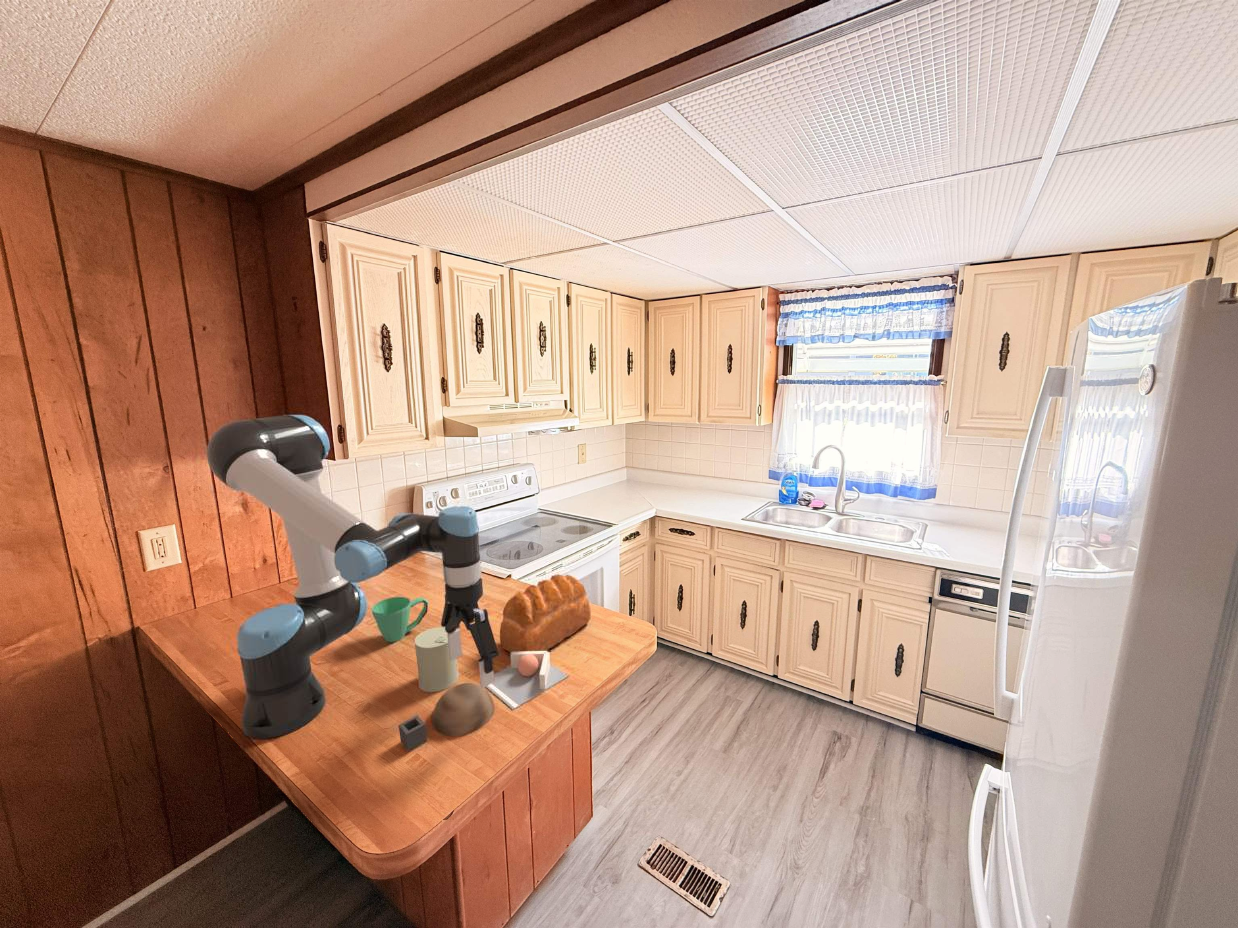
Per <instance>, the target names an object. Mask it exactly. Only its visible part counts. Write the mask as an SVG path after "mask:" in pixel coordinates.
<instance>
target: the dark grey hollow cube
mask: <svg viewBox="0 0 1238 928" xmlns="http://www.w3.org/2000/svg"><path fill="white" fill-rule="evenodd" d="M398 730H399V731H398V732H399V739H400V743H401V744H402V745H403V747H404V749H406V751H408V753H409V752H411V751H413V750H415V749H416V748H418V747H420V746H422V745H423V744H425V743H427V742H428V736H427V735H428V734H427V726H426V723H425V722H424V721H423V720H422V718H421V717H420V716H419V715H418V714H416V715H414V716H413V717H411V718H409V719H407V720H405V721H403V722H401V723H400V724H398Z"/></svg>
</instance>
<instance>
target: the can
mask: <svg viewBox="0 0 1238 928" xmlns="http://www.w3.org/2000/svg"><path fill="white" fill-rule="evenodd" d="M447 634H448V633H447V632H446V631H445V627H442V626H436V627H432V628H429V629H426V630H424V631H421V633H418V635H417V636H416V637H415V638H414V641H413V642H414V647H415V648H414V649H415V655H416V663H417V664H416V665H417V674H418V687H419V688H420V689H421V691H423V692H426V693H437V692H442V691H444V690H448V689H450V688H452V687H453V686H455V684H456V683H457V682H458V680H459V678H460V677H459V676H460V673H459V669H458V658H457V659H455V660H453V661H450V658H449V648H448V637H447Z"/></svg>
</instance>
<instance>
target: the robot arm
mask: <svg viewBox="0 0 1238 928" xmlns="http://www.w3.org/2000/svg"><path fill="white" fill-rule="evenodd" d="M329 439H330V438H329V436H328V434H327V431H326V430H325V428H324V427H323V426H322V425H321V424H320V423H319V422H318V421H316V420H315V419H314V418H312V417H310V416H308V415H304V414H283V415H278V416H277V415H276V416H268V417H260V418H259V417H258V418H251V419H239V420H238V419H237V420H235V421H231V422H229V423H227V424H224V425H223V426H221V427H220V428H218V429H216V431H215V432H214V433H213V434H212V436H211V437H210V439H209V441H208V443H207V446H206V458H207V459H206V460H207V463H208V465H209V468H210V470H211V471H212V473H213V474H214V475H215V476H216V478H217V479H218V480H219V481H220V482H221V483H222V484H224V485H226V486H227V487H229V488H230V489H231V490H233V491H236V492H246V493H247V494H249V495H250V496H252V497H253V498H255V500H257V501H259V502H260V503H262V504H263V505H265V506H266V507H267V508H269V509H270V510H272V512H274V513H276V514H277V515H279V516H280V517H281V519H282V523H283V526H284V529H285V530H284V531H285V535H286V538H287V542H288V547H289V550H290V555H291V558H292V562H293V566H294V569H295V572H296V577H297V580H298V587H297V588H296V589H295V590H294V592H293V596H294V597H293V598H294V600H295V603H281V604H276V605H275V606H274V607H268V608H265V609H262V610H260V611H259V612H257V613H255V614H253V615H252V616H250V617H249V618H247V620H245V621H244V622H243V623H242V625H240V627H239V629H238V632H237V636H236V639H237V649H236V650H237V653H238V655H239V659H240V664H241V668H242V669H241V671H242V675H243V679H244V685H245V689H246V696H245V701H244V704H243V705H244V706H243V710H242V714H241V719H240V722H241V727H242V732H243V734H244V735H245V736H246V737H248V738H251V739H256V740H264V739H266V740H267V739H272V738H276V737H279V736H284V735H286V734H289V733H292V732H294V731H296V730H298V729H300V728H302V727H303V726H305V725H307V724H308V723H310V722H312V721H313V719H315V718H316V717H317V716H318V715H319V714H320V713H321V712H322V711H323V709H324V707H325V705H326V694H325V689H324V688H323V686H322V685H321V683H320V682H319V680H318V678H317V677H316V676H315V674H314V673H313V671H312V666H311V665H312V664H311V656H313V655H314V654H315V653H317V652H318V651H320V650H322V649H323V648H325V647H327V646H328V645H330V644H332V643H333V642H335V641H336V640H338V639H340V638H342V637H343V636H345V635H347V634H349V633H350V632H351V631H353V629H355V628H356V627H357V626H359V625H360V624H361V623H362V622H363V621H364V619H365V618H366V614H367V612H368V611H367V610H368V600H367V597H366V593H365V592H364V590H363V589H361V587H360V585H359V584H358V583H363V582H364V581H367V580H369V579H372V578H374V577H377V576H379V575H381V574H382V573H384V572H385V571H387V570H388V569H390V568H393V567H394V566H395V565H397V564H399V563H402V562H404V561H406V560H408V559H410V558H412V557H413V556H415V555H417V554H419V553H422V552H426V553H427V552H428V553H437V554H438V553H440V554H441V561H442V572H443V575H442V576H443V581H444V590H445V591H444V593H445V594H444V607H443V612H442V615H441V620H440V621H441V622H440V625H441V626H440V627H445V631H446V632H447V633H448V634H447V637H448V648H449V658H450V661H453V660H455V659H457V660H458V659H460V658H462V657H463V648H462V637H461V630H460V629H459V628H460V627H461V625H460V624H461V622H462V623H463V625H464V626H465V630H467V631H469V632H470V634H471V637H472V639H473V641H474V642H473V643H474V645H475V646H476V649H477V651H478V654H479V656H480V657H478V667H479V668H478V669H479V680H480V681H481V683H480V686H481V687H482V688H484V689H485V688H486V686H488V685H489V684H491V683H493V682H494V674H495V673H494V661H493V659H496V658H497V657H499V655H500V654H499V653H500V652H499V650H498V649H499V648H498V647H497V643H496V640H495V636H494V634H493V630H492V627H491V624H490V621H489V620H490V619H489V614H488V610H487V609H486V608H484V609H482V610H481V609H480V607H479V604H478V602H479V600H480V599H481V598H482V597H483V595H484V588H483V587H484V586H483V579H482V566H481V564H482V560H481V554H480V537H479V536H480V535H479V532H480V531H479V529H480V527H479V524H478V518H477V517H478V516H477V513H476V510H475V509H474V508H472V507H470V506H465V505H464V506H462V505H461V506H451V507H446V508H444V509H442V510H441V511H439V513H438V515H437V516H436V515H426V514H419V513H414V512H409V513H399V514H397V515H394V517H393V518H392V519H391V521H389V523H388V524H387V526H385V527H383V528H381V529H379V530H376V529H375V528H373V527H372V526H371V525H369V524H367V523H366V522H364V521H363V520H362V519H360V518H358V517H357V516H355V515H354V514H353V513H352V512H350V511H348V510H347V509H345V508H344V507H343V506H341V505H340V504H338V503H337V502H335V501H333V500H332V499H331V498H330V497H328V496H326V495H325V494H324V493H322V490H321V484H320V481H319V477H320V475H321V473H322V472H323V471H324V466H323V461H324V460H325V459H326V458H327V457H328V455H329V451H330V448H331V445H330V440H329ZM480 681H479V682H480Z"/></svg>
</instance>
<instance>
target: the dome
mask: <svg viewBox="0 0 1238 928" xmlns="http://www.w3.org/2000/svg"><path fill="white" fill-rule="evenodd" d="M494 713H495V703H494V700H493V698H492V696H491V694H490V692H488V690H487V689H486V688H485V687H484V688H482V687H481V685H479V684H476V683H472V682H465V683H460V684H456V685H453V686H451V687H449V688H448V689H447V690H446V691H445V692H444V693H443V694H442V695H441V697H440V698H439V699H438V701H437V703H436V704H435V706H434V709H433V714H432V726H433V728H434V729H435V732H437V733H439V734H441V735H443V736H448V737H459V736H464V735H469V734H471V733H473V732H476V731H477V730H479V729H481V728H482V727H484V726H485V725H486V724H487V723H488V722H489V721H490V720H491V718H492V717H493V715H494Z"/></svg>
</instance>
